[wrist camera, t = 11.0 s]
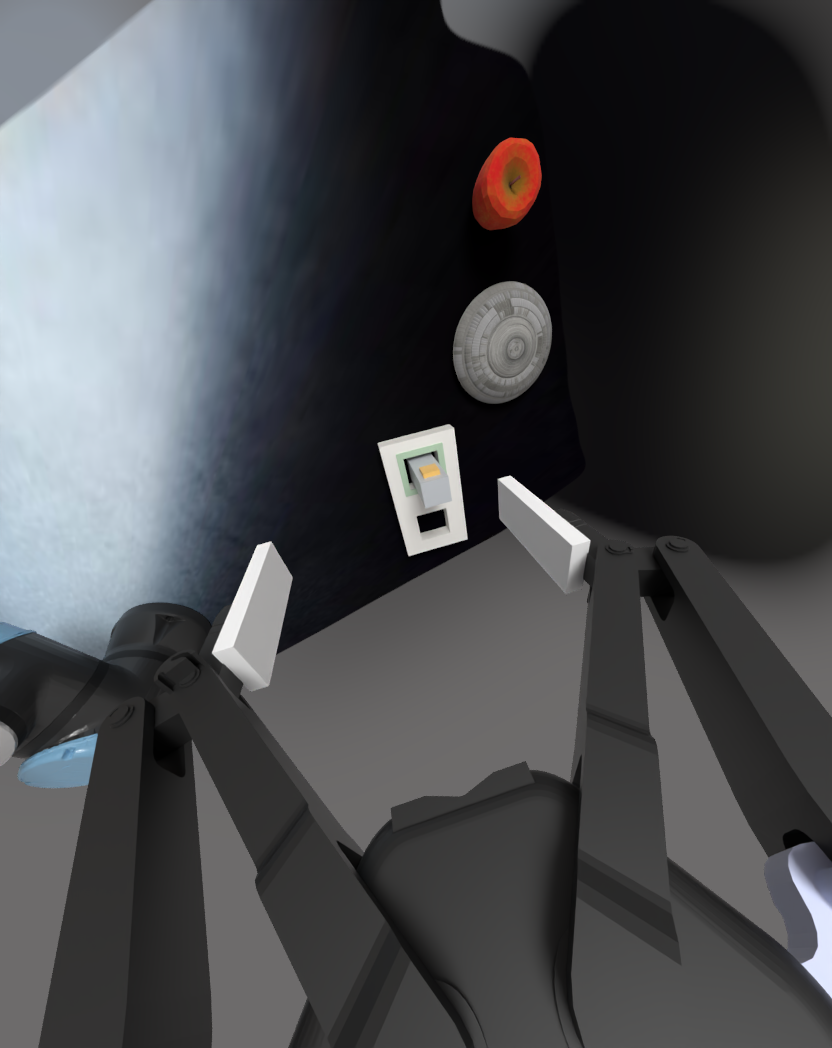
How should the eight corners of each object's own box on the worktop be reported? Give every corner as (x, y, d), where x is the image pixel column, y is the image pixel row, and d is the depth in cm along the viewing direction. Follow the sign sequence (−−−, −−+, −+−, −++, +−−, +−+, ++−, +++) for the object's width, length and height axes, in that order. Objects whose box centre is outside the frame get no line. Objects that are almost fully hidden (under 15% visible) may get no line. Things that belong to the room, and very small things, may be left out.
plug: (410, 478, 51) (425, 508, 42) (405, 453, 49) (419, 479, 40) (432, 472, 52) (452, 501, 42) (428, 447, 49) (447, 471, 40)
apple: (474, 253, 37) (500, 235, 31) (453, 190, 34) (478, 155, 27) (518, 221, 36) (554, 196, 30) (501, 153, 33) (538, 109, 27)
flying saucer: (455, 279, 38) (470, 271, 34) (557, 286, 41) (584, 280, 36) (446, 402, 46) (457, 409, 42) (532, 401, 49) (552, 407, 44)
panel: (406, 548, 59) (408, 556, 57) (377, 443, 47) (379, 448, 45) (463, 532, 60) (467, 539, 58) (449, 424, 48) (454, 428, 45)
